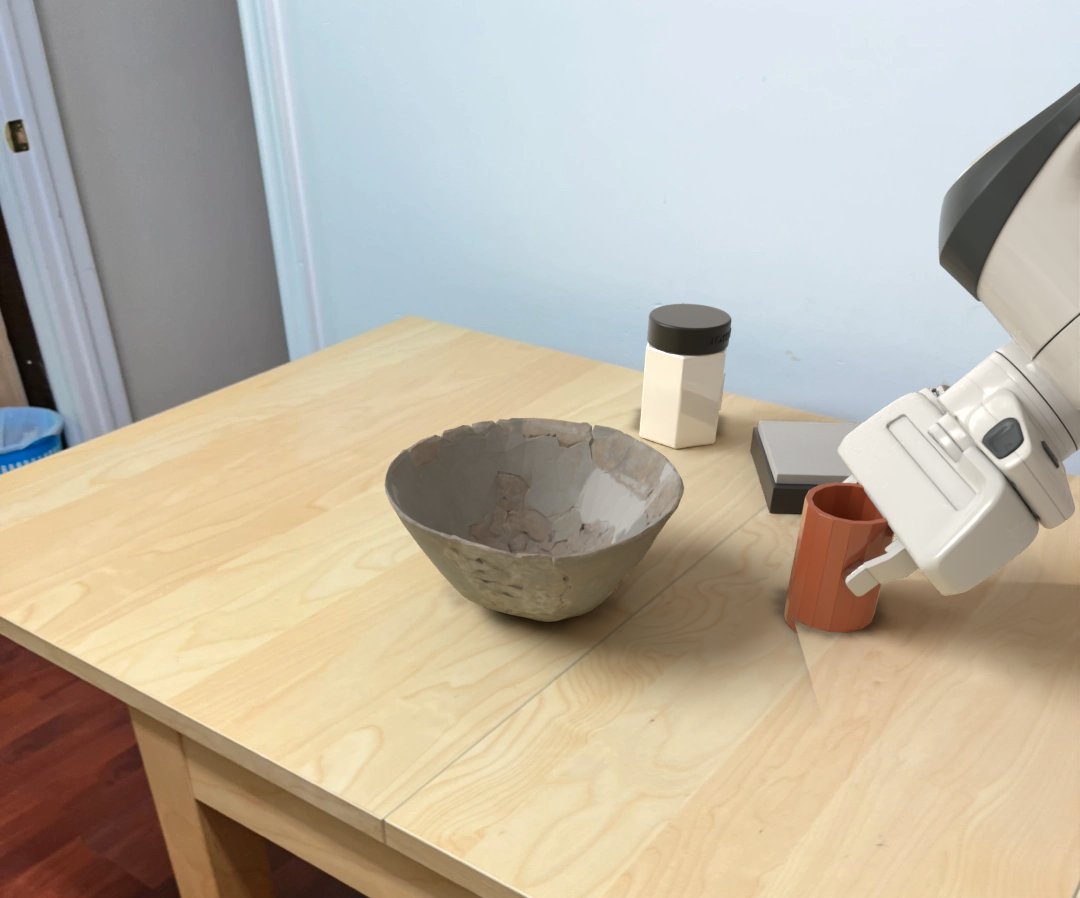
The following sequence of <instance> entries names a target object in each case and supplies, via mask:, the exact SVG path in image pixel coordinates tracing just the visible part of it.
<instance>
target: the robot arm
mask: <svg viewBox="0 0 1080 898" xmlns="http://www.w3.org/2000/svg"><path fill="white" fill-rule="evenodd" d="M938 262H939V266H940V267H941V268H943V269H944V270H945V271H946V272H947V273H948V274H949V275H950V276H951V277H952V278H953V279H954V280H955V281H956V282H957V283H958V284H959V285H960V286H961V287H963V289H964V290H965V291H966V292H967V293H969V295H971V297H972V298H974V300H976V301H977V302H980V303H982V304H983V306H984V307H985V308H986V309H987V311H989V313H990V314H991V315H992V316H993V318H994V319H995V320H996V321H997V323H999V325H1000V326H1001V327H1002V328H1003V329H1004V330H1005V332H1006V333H1007V334H1008V335H1009V337H1011V339H1012V341H1010V342H1007V343H1005V344H1003V345H1001V346H999V347H998V348H997V349H996V350H994V351H993V352H992V353H990V354H989V355H988V356H987V357H986V358H984V359H983V360H982V361H980V362H979V363H978V364H977V365H976V366H975V367H974V368H972V369H971V370H970V371H968V372H967V373H966V374H964V376H962V377H961V378H960V379H959V380H957V381H956V382H955V383H954V384H952V385H951V386H949V385H947V384H940V385H938V386H931V387H924V388H922V389H920V390H919V391H913V392H909V393H907V394H904V395H902V396H900V397H898V398H897V399H895V400H894V401H892V402H891V403H889V404H887V405H886V406H884V407H883V408H881V409H880V410H879V411H877V412H876V413H874V414H872V416H870V417H869V418H867V419H866V420H865V421H863V422H861V423H862V424H861V425H859V426H858V427H857V428H855V429H854V430H853V431H851V432H850V433H849V434H848V435H847V436H846V437H845V438H844V439H843V441H842V442H841V444H840V446H839V447H838V449H837V454H838V455H839V457H840V458H841V459H842V461H843V462H844V464H845V465H846V466H847V468H848V469H849V471H850V472H851V473H852V475H851V476H849V477H848V478H847V479H846V480H844V481H843V482H842V483H855V484H861V485H862V486H863V487H864V492H865V493H866V494H867V496H868V497H869V499H870V500H871V501H872V503H873V504H874V506H875V507H876V508H877V510H878V511H879V513H880V514H881V515H882V517H883V518H884V517H885V518H886V519H887V520H888V525H889V527H890V528H891V529H892V531H893V532H894V536H895V537H896V539H895V540H893V542H892V543H891V544H890V545H889V546H887V547H886V548H885V551H886V552H887V553H886V554H884V555H882V556H879V557H877V558H874V559H872V560H869V561H867V562H865V563H863V562H862V561H861V560H860V558H859V559H858V560H856V561H855V562H854V563H852V564H851V566H850V567H848V568H846V569H844V570H843V572H842V578H843V580H844V582H845V583H846V585H847V587H848V588H849V589H850V590H851V591H852V592H853V593H854V594H855V595H856V596H863V595H864V594H865V593H867V592H868V591H870V590H871V589H872V588H874V587H875V586H876V585H878V584H879V583H880V584H882V585H883V584H885V583H889V582H893V581H896V580H897V581H898V580H900V579H904V578H908V576H910V575H911V574H913V573H914V572H915V571H917V570H918V569H919V570H920V571H921V573H923V575H924V576H925V577H926V579H927V580H928V582H930V583H931V584H932V586H933V587H934V588H935V589H936V590H937V591H938V593H939V594H941V595H942V596H944V597H947V596H954V595H955V596H956V595H959V594H963V593H966V592H968V591H970V590H972V589H974V588H975V587H976V586H978V585H980V584H981V583H983V582H984V581H985V580H987V579H988V578H989V577H991V576H993V575H994V574H995V573H997V572H998V571H1000V570H1001V569H1003V567H1005V566H1006V565H1008V564H1009V563H1010V562H1012V561H1013V560H1014V559H1016V558H1017V557H1018V556H1019V555H1020V554H1021V553H1023V552H1024V551H1025V550H1026V549H1027V548H1028V547H1029V546H1030V545H1032V543H1033V542H1034V541H1035V539H1036V538H1037V536H1038V534H1039V531H1040V530H1039V529H1040V525H1041V526H1042V527H1043V528H1045V529H1047V530H1052V529H1055V528H1057V527H1059V526H1060V525H1063V523H1065V522H1066V521H1068V520H1069V519H1070V518H1072V517H1073V516H1074V514H1075V512H1076V505H1075V501H1074V498H1073V494H1072V490H1071V487H1070V484H1069V480H1068V479H1069V478H1068V475H1067V471H1066V467H1065V465H1064V461H1066V460H1067V459H1068V458H1070V457H1071V456H1073V455H1074V454H1075V453H1077V452H1078V451H1079V450H1080V82H1079V83H1077V84H1076V85H1075V86H1074V87H1073V88H1071V89H1070V90H1069V91H1067V92H1066V93H1065V94H1063V95H1062V96H1061V97H1059V98H1057V99H1056V101H1054V102H1052V103H1051V104H1050V105H1048V106H1047V107H1045V108H1044V109H1043V110H1042V111H1040V112H1039V113H1037V114H1036V115H1034V116H1033V117H1031V118H1030V119H1029V120H1028V121H1026V122H1025V123H1023V124H1022V125H1020V126H1018V127H1017V128H1015V129H1014V130H1012V131H1010V132H1008V133H1007V134H1006V135H1004V136H1002V137H1001V138H1000V139H998V140H997V141H996V142H994V143H993V144H992V145H990V146H988V147H987V148H986V149H985V150H984V151H982V152H981V153H980V154H979V155H978V156H977V157H975V159H973V161H971V162H970V163H969V164H968V165H967V167H965V169H964V170H963V171H962V172H961V174H960V175H959V176H958V177H957V178H956V180H955V181H954V183H953V184H952V185H951V186H950V187H949V189H948V190H947V191H946V193H945V195H944V196H943V199H942V203H941V209H940V215H939V223H938Z"/></svg>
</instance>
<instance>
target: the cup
mask: <svg viewBox="0 0 1080 898" xmlns="http://www.w3.org/2000/svg"><path fill="white" fill-rule="evenodd" d="M800 517H801V518H800V522H799V528H798V533H797V539H796V544H795V550H794V555H793V560H792V566H791V571H790V577H789V582H788V586H787V587H788V589H787V593H786V597H785V598H786V599H785V604H784V613H783V614H784V615H783V616H784V620H785V622H786V625H788V626H789V628H790V629H792V631H794V632H795V633H798V630H797V626H796V623H795V621H797V622H799V623H802V624H803V625H805V626H807V627H809V628H812V629H815V630H819V631H825V632H828V633H850V632H855V631H860V630H863V629H864V628H865V627H868V625H870V624H872V622H873V619H874V616H875V613H876V609H877V606H878V605H877V604H878V600H879V598H880V593H881V590H882V585H883V583H882V584H880V583H879V584H878V585H876V586H875V587H874V588H872V589H871V590H870V591H868V592H867V593H865V594H864V595H863V596H856V595H855V594H854V593H853V592H852V591H851V590H850V589H849V588H848V587H847V585H846V583H845V582H844V580H843V578H842V572H843V570H844V569H846V568H848V567H850V566H851V564H852V563H854V562H855V561H856V560H858V559H859V558H860V560H861V561H862V562H863V563H865V562H867V561H869V560H872V559H874V558H877V557H879V556H882V555H884V554H886V553H887V552H886V551H885V548H886V547H887V546H889V545H890V544H891V543H892V542H894V537H895V534H894V532H893V531H892V529H891V528H890V527H889V525H888V520H887V519H886V518H885V517H884V518H883V517H882V515H881V514H880V513H879V511H878V510H877V508H876V507H875V506H874V504H873V503H872V501H871V500H870V499H869V497H868V496H867V494H866V493H865V492H864V487H863V486H862V485H861V484H855V483H828V484H822V485H819V486H817V487H815V488H813V489H811V490H809V491H808V493H807V495H806V497H805V501H804V506H803V511H802V514H801V516H800Z"/></svg>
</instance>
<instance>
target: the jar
mask: <svg viewBox="0 0 1080 898" xmlns="http://www.w3.org/2000/svg"><path fill="white" fill-rule="evenodd" d="M647 323H648V324H647V336H646V341H647V344H646V347H645V358H644V368H643V369H644V370H643V381H642V383H643V384H642V394H641V395H642V396H641V408H640V409H641V410H640V420H639V437H640V438H642V439H644V440H648V441H651V442H653V443H656V444H660V445H662V446H665V447H668V448H671V449H674V450H677V449H684V448H691V447H698V446H699V447H700V446H706V445H707V446H708V445H713V444H715V443H716V438H717V433H718V424H719V417H720V416H719V415H720V411H721V410H722V403H723V395H724V389H725V388H724V387H725V380H726V378H725V377H726V372H725V369H726V361H727V360H726V359H727V350H728V347H729V344H730V338H731V335H732V316H731V314H729V312H727V311H725V310H722V309H720V308H717V307H714V306H710V305H705V304H697V303H672V304H665V305H662V306H658V307H655V308H654V309H652V310H651V311H650V312H649V314H648V322H647Z"/></svg>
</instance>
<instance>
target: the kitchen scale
mask: <svg viewBox="0 0 1080 898" xmlns="http://www.w3.org/2000/svg"><path fill="white" fill-rule="evenodd" d="M862 423H863V422H833V421H831V422H829V421H795V420H793V421H792V420H789V421H788V420H759V421H758V425H757V426H754V427H752V435H751V442H750V448H749V449H750V454H751V457H752V460H753V463H754V466H755V470H756V472H757V477H758V479H759V483H760V486H761V489H762V493H763V496H764V499H765V502H766V506H767V509H768V513H769V514H796V515H797V514H799V515H800V514H801V515H802V511H803V506H804V501H805V497H806V495H807V493H808V491H809V490H811V489H813V488H815V487H817V486H819V485H822V484H828V483H842V482H843V481H844V480H846V479H847V478H848V477H849V476H851V475H852V473H851V472H850V471H849V469H848V468H847V466H846V465H845V464H844V462H843V461H842V459H841V458H840V457H839V455H838V454H837V449H838V447H839V446H840V444H841V442H842V441H843V439H844V438H845V437H846V436H847V435H848V434H849V433H850V432H851V431H853V430H854V429H855V428H857V427H858V426H859V425H861V424H862Z"/></svg>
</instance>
